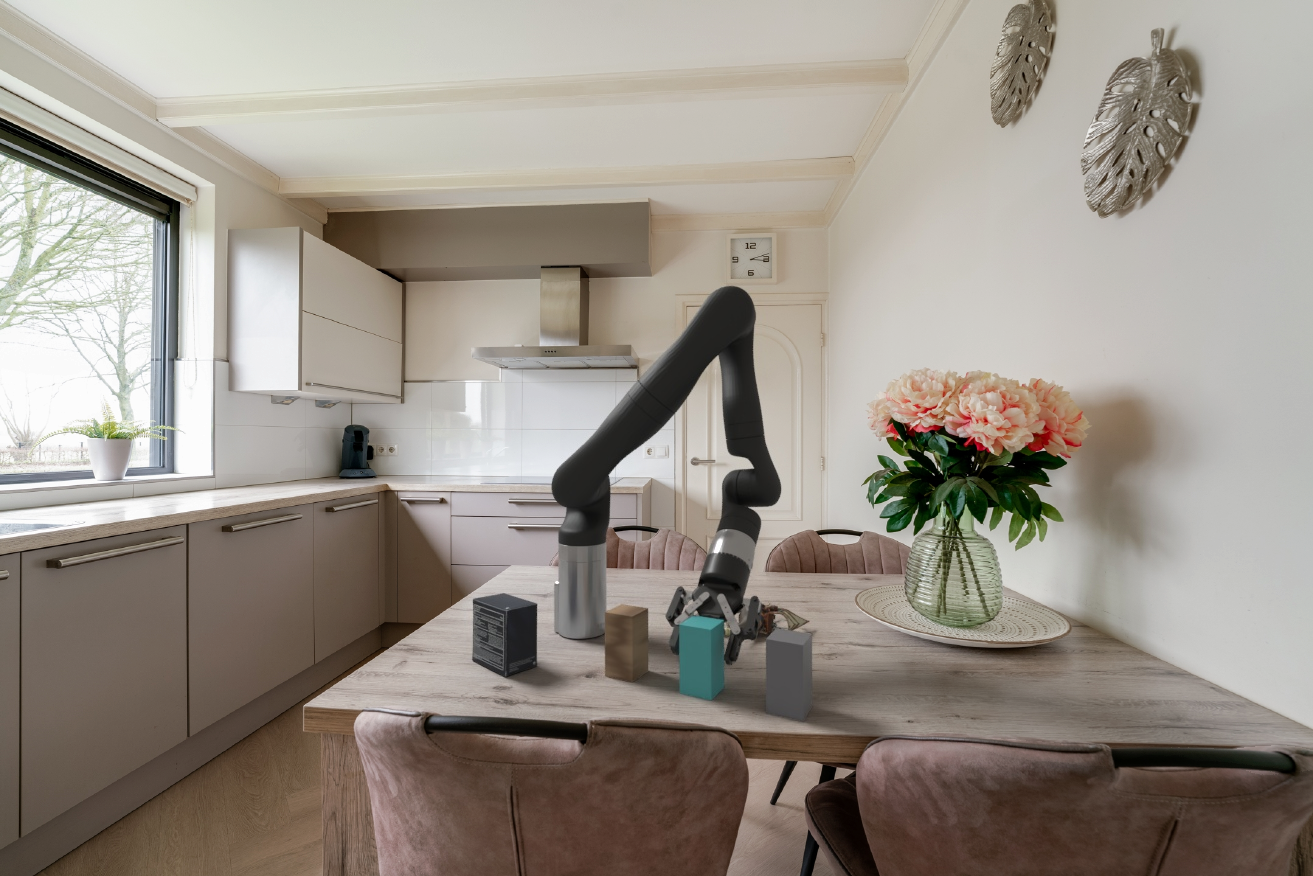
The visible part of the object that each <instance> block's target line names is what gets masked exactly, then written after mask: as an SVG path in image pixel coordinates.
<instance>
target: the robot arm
mask: <svg viewBox="0 0 1313 876" xmlns="http://www.w3.org/2000/svg"><path fill="white" fill-rule="evenodd" d="M756 320H757V312H756V308H755V304H754V301H753V298H752V297H751V295H750V294H749V293H748V292H747V290H745V289H743V288H742V287H739V286H736V285H726V286H722V287H719V288H718V289H715V290H714V291H713V292H711V293H710V294H709V295H708V296H707V297H706V298H705V300H704V302H703V303H702V305H701V306H700V307H699V309H698V311H696V313H695V315H693V317H692V319H691V320H690V321H689V323H688V324H687V326H685V328H684V330H683V331H682V332H681V334H680V336H678V337H677V339H676V340H675V341H674V342H673V343H672V344H671V345H670V346H669V347H668V348H667V349H666V350H665V351H664V352H663V353H662V354H661V355H660V356H659V357H658V358H657V359H656V360H655V362H653V363H652V365H651V366H650V367H649V368H648V369H647V370H646V371H645V372H644V373H643V374H642V375H641V376H640V377H639V378H638V380H637V381H636V382H635V383H634V384H633V385H632V386H631V387H630V389H629V390H628V391H627V392H626V394H625V395H624V396H623V397H622V399H621V400H620V401H619V402H618V403H617V404H616V406H615V407H614V408H613V409H612V410H611V412H610V413H609V414H608V415H607V417H606V418H605V419H604V420H603V422H602V423H601V424H600V425H599V427H598V428H597V429H596V430H595V431H594V433H593V434H592V435H591V436H590V437H589V438H588V439H587V440H586V441H585V442H584V443H583V444H582V445H581V446H580V447H578V449H577V450H575V451H574V452H573V453H572V454H571V455H570V456H569V457H568V458H567V459H565V460H564V462H563V463H561V465H559V466H558V468H557V469H556V470H555V472H554V474H553V477H552V480H551V485H550V486H551V493H552V494H551V495H552V496H553V499H554V501H556V503H557V504H559V505H560V506H562V507H564V508H566V510H565V517H564V520H563V521H562V523H561V525H560V527H559V529H558V532H557V533H558V534H557V538H558V539H557V540H558V541H557V542H558V543H557V546H558V548H557V550H558V551H557V552H558V553H557V554H558V563H557V564H558V566H557V567H558V568H557V569H558V578H557V579H558V580H557V581H555V582H554V585H553V586H554V587H553V592H554V593H553V600H554V601H553V622H554V624H553V627H554V630H553V631H554V632H555V633H558V634H559V635H560V636H562V637H564V638H568V639H575V640H576V639H578V640H579V639H591V638H596V637H599V636H602V635H603V634H604V635H605V612H606V611H608V610H607V605H608V604H607V603H608V602H607V534H608V529H609V526H610V525H609V524H610V520H611V519H610V518H611V492H612V491H611V479H610V474H611V473H612V471H614V469H615V468H616V467H617V466H618V465H619V464H620V463H621V462H622V460H624V459H625V458H627V457H628V456H629V455H631V453H634V451H635V450H637V449H638V448H640V447H641V446H642V445H644V444H645V443H647V441H649V440H650V439H652V438H653V437H654V436H655V435H656V434H657V433H659V431H660V430H661V429H662V428H664V426H665V425H666V424H667V423H668V422H669V421H670V420H671V419H672V417H674V415H676V413H677V412H678V411H679V410H680V408H681V407H682V406H683V405H684V403H685V402H686V400H687V399H688V397H689V396H690V394H691V393H692V391H693V389H694V388H695V386H696V385H697V383H698V381H699V380H700V378H701V376H702V374H703V373H704V372H705V370H706V369H707V367H708V366H709V365H710V364H712V362H713V360H714V359H716V358H717V357H718V360H719V366H720V374H721V375H720V376H721V393H722V396H721V398H722V399H721V401H722V406H721V407H722V417H723V418H722V420H723V426H724V435H725V444H726V449H727V452H728V453H729V455H730V456H732V457H738V458H745V459H747V460H748V461H749V462H750V464H751V465H752V467H753V468H740V469H739V468H738V469H734V470H730V471H729V472H728V473H727V474H726V475H725V476H724V478H723V480H722V483H721V514H720V515H721V516H720V519H719V522H718V523H719V524H718V526H717V529H716V532H715V535H714V537H713V539H712V541H711V542H710V546H709V548H708V552H707V553H706V556H705V560H704V563H703V567H702V569H701V572H700V574H699V578H698V582H697V586H696V588H695V589H694V590H693V591H691V590H686V589H685V588H684V587H683V586H682V585H681V586H677V588H676V589H675V592H674V594H673V597H672V599H671V601H670V604H669V606H668V608H667V612H666V613H665V617H664V618H665V619H666V621H667V622H668V624H669V625H670V627H672V628H673V629H672V632H671V635H670V637H669V640H668V646H669V648H670V652H672V654H673V655H675V656H679V624H681V623H682V622H684V621H686V620H687V619H689V618H690V617H692V616H694V615H695V616H701V617H707V618H714V619H720V620H724V624H726V622H727V621H728V623H729V625H730V626H729V625H728V626H729V629H730V630H732V632H733V633H732V635H730V636H728V639H727V644H726V647H725V650H724V663H725V664H726V665H727V666H732V665H733V664H734V663H736V662H737V661H738V659H739V654H740V652H741V651H740V650H741V647H742V643H743V642H744V641H747V640H750V641H755V640H757V638H758V632H759V631H758V628H759V622H760V617H761V611H762V606H761V603H762V602H761V601H760V599H759V597H758V596H757V595H752V596H751V597H750V598H746V597H744V596H745V594H746V590H747V586H748V584H749V583H748V582H749V579H750V576H751V571H752V570H753V567H754V562H755V561H754V559H755V555H756V554H755V553H756V547H757V543H758V539H759V535H760V532H761V528H762V519H761V516H760V515H759V514H758V512H757V511H756V510H754V509H752V508H768V507H769V508H770V507H773V506H775V505H776V504H777V503H778V502H779V499H780V498H781V494H782V483H781V479H780V477H779V473H778V471H777V469H776V467H775V465H774V463H773V462H774V461H773V460H772V457H771V455H770V451H769V448H768V445H767V442H766V435H765V428H764V421H763V420H764V419H763V413H762V406H761V399H760V395H759V391H758V384H757V378H756V370H755V359H754V338H755V334H754V333H755V325H756ZM691 601H692V603H691V604H689V602H691ZM760 602H761V603H760ZM687 605H688V606H687ZM685 606H686V608H685ZM743 607H746V611H747V613H748V615H747V620H746V626H745V627H743V628H740V627H739V625H738V623H739V622H738V621H737V618H736V615H737V614H739V613H738V612H739V611H740V610H742V609H743ZM696 612H697V613H696ZM695 613H696V614H695Z"/></svg>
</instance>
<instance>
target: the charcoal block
mask: <svg viewBox="0 0 1313 876" xmlns="http://www.w3.org/2000/svg"><path fill="white" fill-rule="evenodd" d="M765 703H766V704H765V713H766V715H767V714H768V715H772V716H776V717H781V718H785V719H789V720H793V721H798V722H802V723H803V722H804V721H805V720H806V718H807V717H808V714H809V713H810V711H811V710H812V708H813V633H809V632H803V631H796V630H793V631H791V630H786V628H781V629H779V627H778V628H775V630H774V631H773V632H772V633H771V632H770V634H769V635H768V636H767V637H766V638H765Z"/></svg>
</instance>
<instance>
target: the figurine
mask: <svg viewBox="0 0 1313 876" xmlns="http://www.w3.org/2000/svg"><path fill="white" fill-rule="evenodd" d="M760 603H761V606H762V611H761V617H760V622H759V628H758V633H764V634H769V633H770V634H771V633H772V632H773V631H774V630H775V629H776V628H778V629H782V627H778V624H777V623H776V622H775V621H776V616H777V615H781V616H783V617H784V619H785V620H784V622H787V627H786V628H785V630H791V631H796V630H797V629H798V628H801V627H802V626H805V625H806V624H808V623H810V620H807V619H806V618H803V617H801V616H800V615H798V614H796V613H794V612H792V611H791V610H789V609H787V608H784V607H778V605H772V604H771V601H768V603H766V604H764V603H762V602H761V601H760ZM737 614H738V622H737V623H738V625H739V627H740V628H743V627H745V626H746V620H747V615H748V613H747V611H746V607H743V609H742V610H740V611H739V612H738V613H737ZM774 620H775V621H774ZM725 624H726V625H727V626H726V627H724V637H729V636H730V635H732V633H733V632H732V630H731V628H730V625H729V623H728V621H727V622H725ZM728 626H729V627H728ZM763 628H764V629H763Z"/></svg>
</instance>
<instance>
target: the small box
mask: <svg viewBox="0 0 1313 876" xmlns="http://www.w3.org/2000/svg"><path fill="white" fill-rule="evenodd" d="M472 617H473V618H472V620H473V621H472V657H471V658H472V659H471V660H472V662H475V663H476V664H478V665H481V666H483V667H484V668H487V669H489V670H490V671H493V672H494V673H496V674H498V675H501V676H503V677H505V678H506V677H509V676H512V675H515V674H517V673H521V672H524V671H528V670H530V669H533V668H535V667H537V666H538V603H537V602H534V601H530V600H527V599H523V598H521V597H518V596H515V595H511V594H509V593H508V594H507V593H504V592H503V593H496V594H491V595H486V596H480V597H475V598H473V599H472Z"/></svg>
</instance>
